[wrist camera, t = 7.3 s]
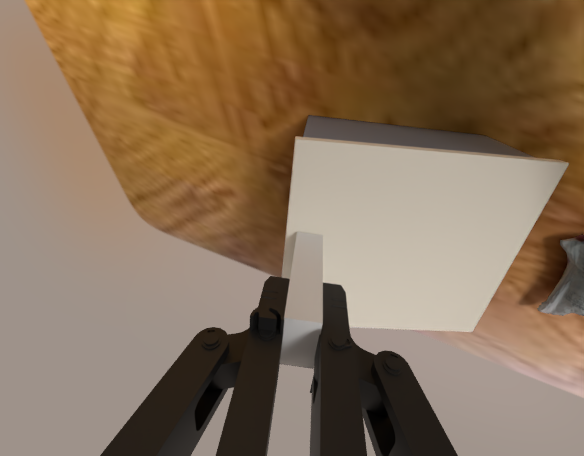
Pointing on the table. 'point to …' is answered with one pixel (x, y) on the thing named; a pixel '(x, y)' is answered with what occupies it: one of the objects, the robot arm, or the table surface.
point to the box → (404, 136)
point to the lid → (414, 226)
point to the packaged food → (569, 282)
